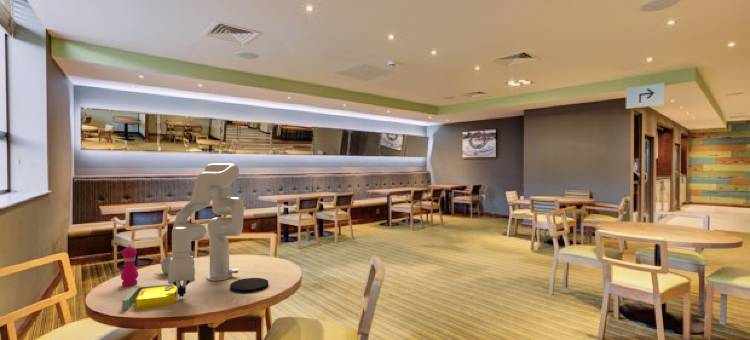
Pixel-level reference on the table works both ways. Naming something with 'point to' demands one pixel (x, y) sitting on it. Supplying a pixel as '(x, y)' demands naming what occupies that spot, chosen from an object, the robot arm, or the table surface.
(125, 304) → the corner stop
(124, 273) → the pepper mill
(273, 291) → the table surface
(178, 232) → the robot arm
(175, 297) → the element tile
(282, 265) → the table surface
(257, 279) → the wireless charger
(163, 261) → the teacup
